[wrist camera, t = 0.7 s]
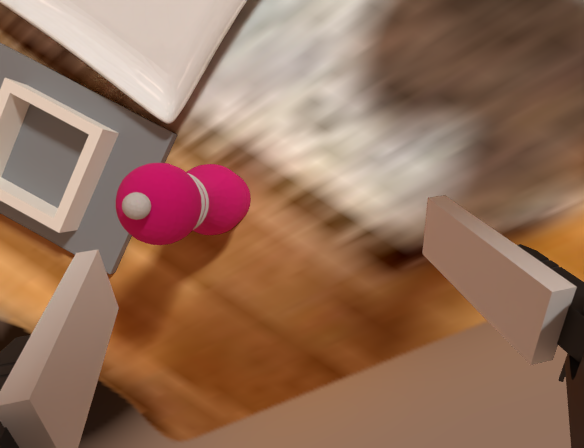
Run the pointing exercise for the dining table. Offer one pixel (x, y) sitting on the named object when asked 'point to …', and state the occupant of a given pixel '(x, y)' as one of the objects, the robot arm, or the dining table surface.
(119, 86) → the square plate
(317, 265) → the dining table surface
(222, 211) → the pepper mill
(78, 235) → the caddy
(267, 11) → the dining table surface
